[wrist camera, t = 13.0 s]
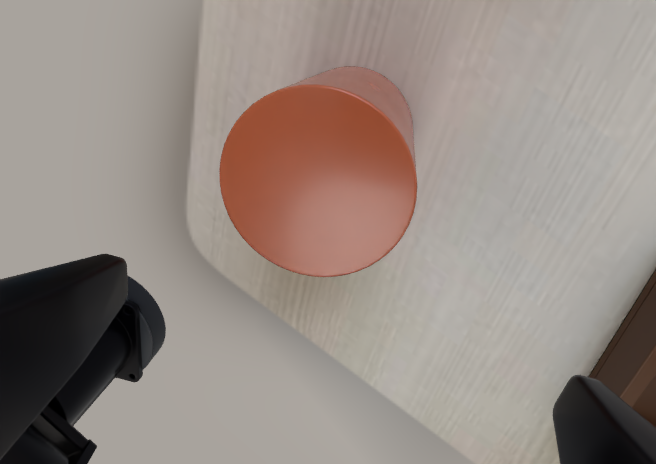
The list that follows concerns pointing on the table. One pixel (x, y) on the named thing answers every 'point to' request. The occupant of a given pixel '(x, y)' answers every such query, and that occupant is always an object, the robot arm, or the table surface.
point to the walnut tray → (634, 357)
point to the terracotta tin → (323, 172)
